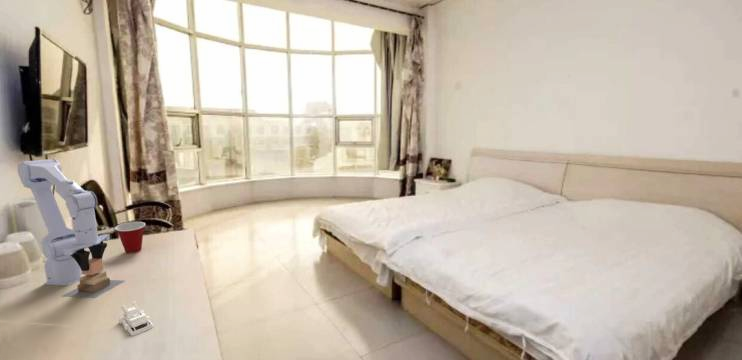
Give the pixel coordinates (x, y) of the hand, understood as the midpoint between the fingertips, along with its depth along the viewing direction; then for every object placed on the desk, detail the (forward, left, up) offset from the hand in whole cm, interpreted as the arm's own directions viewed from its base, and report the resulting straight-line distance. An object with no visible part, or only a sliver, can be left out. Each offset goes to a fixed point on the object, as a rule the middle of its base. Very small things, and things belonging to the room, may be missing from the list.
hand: (91, 267), depth 113 cm
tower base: (0, 0, -7) cm, 7 cm away
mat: (0, 0, -8) cm, 8 cm away
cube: (0, 0, -2) cm, 2 cm away
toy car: (+30, -17, -8) cm, 35 cm away
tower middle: (0, 0, -5) cm, 5 cm away
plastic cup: (-14, +33, -8) cm, 37 cm away
